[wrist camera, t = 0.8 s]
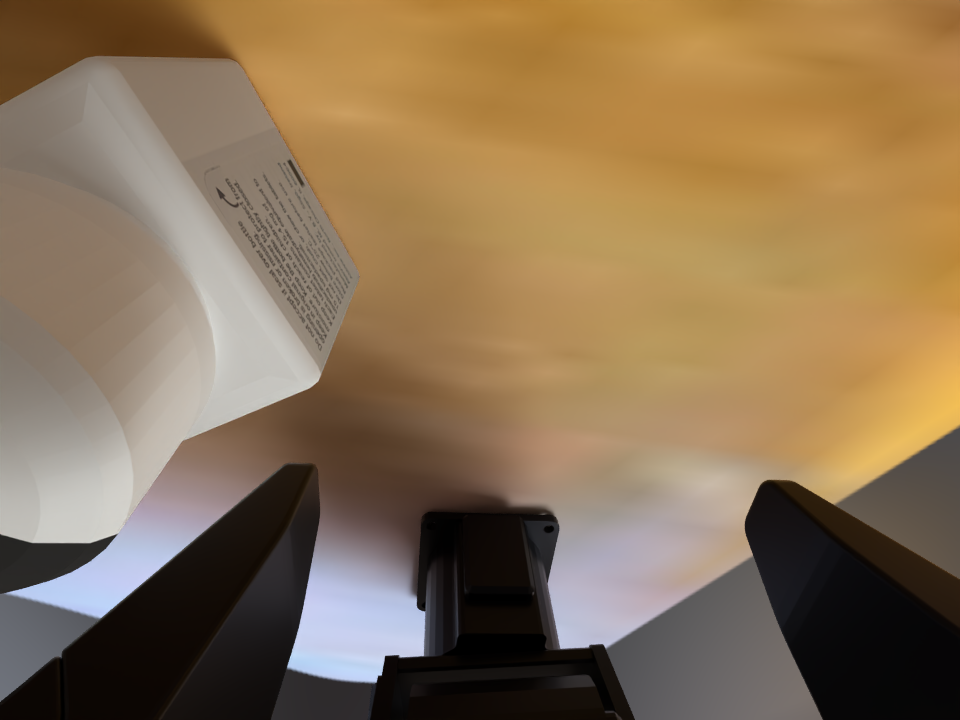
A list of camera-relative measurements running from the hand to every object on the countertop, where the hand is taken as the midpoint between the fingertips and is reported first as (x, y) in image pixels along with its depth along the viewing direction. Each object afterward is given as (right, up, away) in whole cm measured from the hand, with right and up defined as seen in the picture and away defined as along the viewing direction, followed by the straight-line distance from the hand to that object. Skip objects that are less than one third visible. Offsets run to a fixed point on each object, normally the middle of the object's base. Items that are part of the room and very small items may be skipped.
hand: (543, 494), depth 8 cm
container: (-10, +7, +11) cm, 16 cm away
